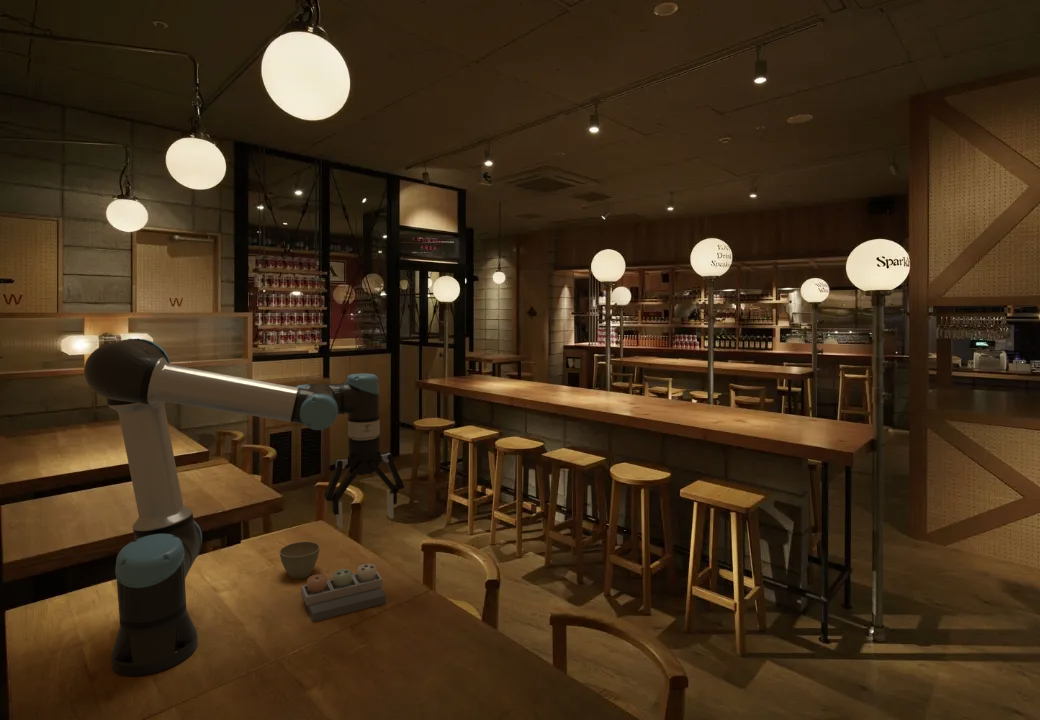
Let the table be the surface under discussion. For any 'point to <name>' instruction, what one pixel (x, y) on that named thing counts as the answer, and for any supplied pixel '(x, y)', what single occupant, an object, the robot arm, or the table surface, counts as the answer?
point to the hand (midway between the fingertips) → (365, 521)
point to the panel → (344, 597)
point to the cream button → (366, 572)
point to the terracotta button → (317, 583)
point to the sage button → (342, 577)
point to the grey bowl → (299, 558)
